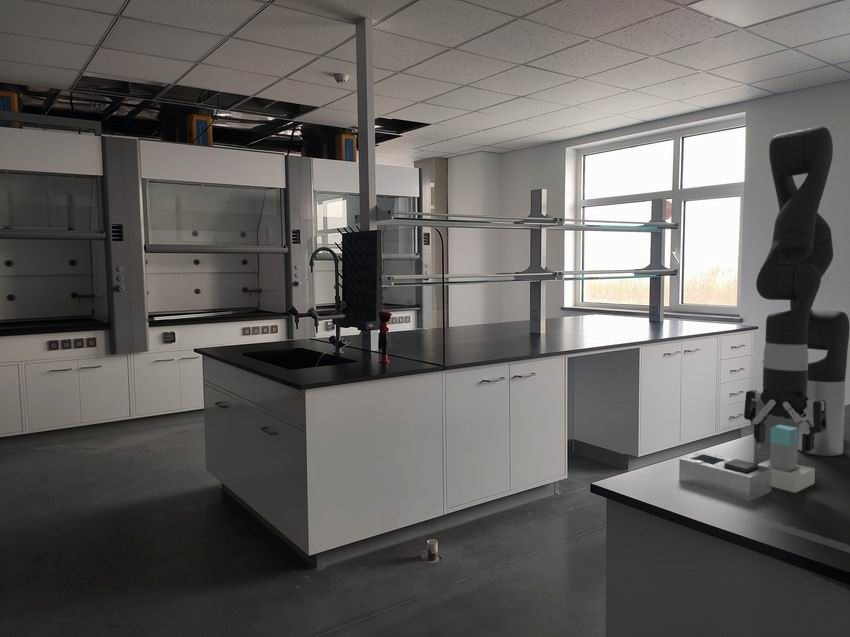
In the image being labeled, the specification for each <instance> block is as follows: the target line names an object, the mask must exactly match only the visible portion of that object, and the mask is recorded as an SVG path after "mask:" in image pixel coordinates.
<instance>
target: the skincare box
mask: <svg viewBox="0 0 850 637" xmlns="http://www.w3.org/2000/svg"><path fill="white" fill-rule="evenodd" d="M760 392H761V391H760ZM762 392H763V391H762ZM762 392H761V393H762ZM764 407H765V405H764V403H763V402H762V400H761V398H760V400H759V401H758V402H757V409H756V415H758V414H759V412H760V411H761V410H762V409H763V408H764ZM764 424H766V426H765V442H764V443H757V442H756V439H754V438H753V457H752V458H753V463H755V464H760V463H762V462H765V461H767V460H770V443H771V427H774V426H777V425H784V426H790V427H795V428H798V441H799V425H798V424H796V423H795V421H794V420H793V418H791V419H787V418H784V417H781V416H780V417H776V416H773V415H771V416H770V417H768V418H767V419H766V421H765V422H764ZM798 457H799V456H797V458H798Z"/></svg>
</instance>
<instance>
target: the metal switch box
mask: <svg viewBox="0 0 850 637" xmlns="http://www.w3.org/2000/svg"><path fill="white" fill-rule="evenodd" d="M678 462H679V463H678V464H679V469H678V470H679V471H678V472H679V473H678V478H679V480H678V481H680V482H683V483H686V484H689V485H692V486H696V487H700V488H703V489H706V490H709V491H713V492H716V493H719V494H723V495H726V496H729V497H733V498H736V499H738V500H743V501H746V502H752V501H754V500H757V499H759V498H761V497H763V496H765V495H767V494H770V493H771V492H772V486H771V471H772V469H771V468H767V467H763V466H759V465H758V464H755V463H754V462H750V461H748V460H747V461H746V460H743V459H742V460H741V459H738V458H731V457H726V456H723V455H719V454H718V455H717V454H714V453H712V452H711V453H710V452H707V451H702V450H701V451H698V452H695V453H692V454H690V455H686V456H683V457H681V458H679V461H678Z"/></svg>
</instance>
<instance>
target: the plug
mask: <svg viewBox="0 0 850 637" xmlns="http://www.w3.org/2000/svg"><path fill="white" fill-rule="evenodd" d="M798 453H799V450H798V428H795V427H790V426H784V425H777V426H774V427H771V443H770V468H773V469H777V470H781V471H785V472H789V473H791V472H793V471H795V470H797V464H798V457H799V456H798V455H799V454H798ZM797 456H798V457H797Z"/></svg>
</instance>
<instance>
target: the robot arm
mask: <svg viewBox="0 0 850 637" xmlns="http://www.w3.org/2000/svg"><path fill="white" fill-rule="evenodd" d="M833 151H834V145H833V138H832V134H831V132H830V130H829V129H828V127H826V126H814V127H808V128H803V129H799V130H794V131H788V132H783V133H779V134H775V135H774V136H773V137H772V138H771V140H770V142H769V148H768V156H769V157H768V158H769V164H770V168H771V175H772V179H773V180H772V181H773V184H774V189H775V193H776V198H777V203H778V208H779V209H778V210H779V212H778V214H777V216H776V218H775V221H774V228H773V234H772V243H771V247H770V249H769V252H768V254H767V257H766V259H765V260H764V262H763V264H762V266H761V268H760V269H759V272H758V274H757V277H756V282H755V284H756V285H755V286H756V291H757V293H758V294H759V296H761V298H762V299H765V300H770V301H789V302H790V303H789V305H790V306H789V308H790V309H789V310H785V311H776V312H771V313H769V314H768V315H767V317H766V320H765V342H764V343H765V344H764V351H763V358H762V393H761V391H758V390H756V389H752V390H751V389H750V390H747V391H746V392H745V401H744V412H743V418H744V420H746V421H750V422H752V423H753V440H754V439H756V442H757V443H764V442H765V426H766V424H764V422H765V421H766V419H767V418H768V417H770V416H771V415H773V416H776V417H780V416H781V417H784V418H787V419H791V418H793V420H794V421H795V423H796V424H798V425H799V441H798V451H801V452H802V453H804V454H811V455H817V456H826V457H836V455H837V456H842V454H844V438H845V437H844V436H845V434H844V432H845V430H844V429H845V409H846V408H845V402H846V401H845V400H846V373H847V366H848V365H847V364H848V362H847V361H848V349H849V339H850V319H849V317H848V315H847V313H845V311H842V310H840V311H839V310H823V309H822V310H815V309H813V310H812V308H813V305H814V302H815V300H816V297H817V295H818V292H819V289H820V287H821V282H822V277H823V276H824V275H825V273H826V271H827V270H828V269H829V267H830V265H831V264H832V261H833V259H834V249H833V236H832V229H831V227H830V225H829V224H828V222H827V221H826V220H825V218H823V217H822V215H821V214H820V213H819V212H818V211H819V207H820V203H821V200H822V197H823V194H824V190H825V188H826V184H827V182H828V181H827V180H828V177H829V174H830V173H829V172H830V169H831V165H832V162H833V154H834V152H833ZM805 174H806V177H805V179H804V180H803V183H801V185H800V186H799V188H798V187H797V185H796V183H795V180H794V177H793V176H800V175H805ZM809 350H817V351H826V355H825V357H824V358H822V359H819V360H817V361H813V362H809ZM760 398H761V400H762V402H763V403H764V405H765V407H764V408H763V409H762V410H761V411H760V412H759V414H758V415H756V409H757V402H758V401H759V400H760Z"/></svg>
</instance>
